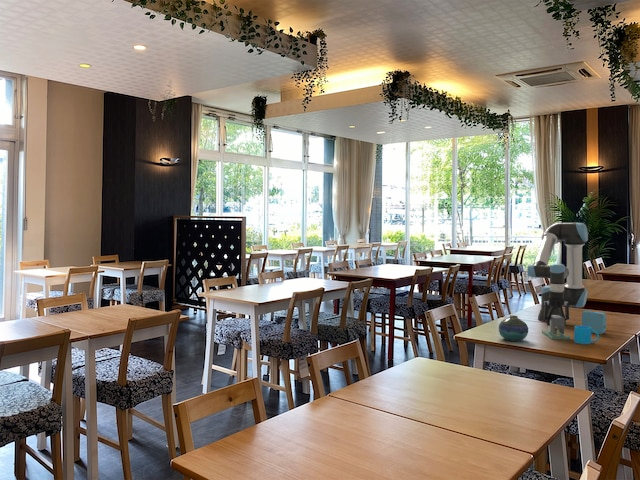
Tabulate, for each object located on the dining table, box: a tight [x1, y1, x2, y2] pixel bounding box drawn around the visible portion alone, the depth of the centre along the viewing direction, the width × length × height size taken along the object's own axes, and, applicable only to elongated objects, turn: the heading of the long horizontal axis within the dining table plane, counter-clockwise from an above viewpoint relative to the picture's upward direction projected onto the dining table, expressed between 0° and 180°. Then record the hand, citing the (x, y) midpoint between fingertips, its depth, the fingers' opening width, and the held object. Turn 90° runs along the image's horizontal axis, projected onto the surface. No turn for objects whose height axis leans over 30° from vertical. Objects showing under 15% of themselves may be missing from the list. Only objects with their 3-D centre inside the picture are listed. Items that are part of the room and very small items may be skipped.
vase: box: [497, 314, 529, 342], centre depth 273 cm, size 15×15×13 cm
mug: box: [573, 325, 600, 345], centre depth 268 cm, size 12×8×8 cm
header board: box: [541, 327, 571, 340], centre depth 283 cm, size 16×10×4 cm, turn 174°
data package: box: [580, 310, 607, 335], centre depth 293 cm, size 12×4×12 cm, turn 41°
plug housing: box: [550, 315, 566, 334], centre depth 283 cm, size 9×6×9 cm, turn 174°
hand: (555, 331), depth 283 cm, fingers closed on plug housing, 6 cm apart
